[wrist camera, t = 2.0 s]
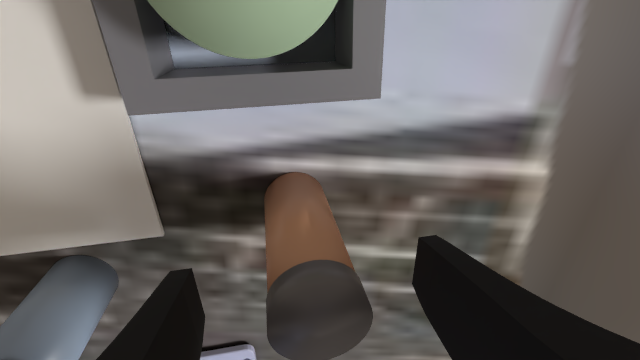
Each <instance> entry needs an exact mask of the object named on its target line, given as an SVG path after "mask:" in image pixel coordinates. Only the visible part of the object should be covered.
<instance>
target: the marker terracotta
mask: <svg viewBox="0 0 640 360" xmlns="http://www.w3.org/2000/svg"><path fill="white" fill-rule="evenodd" d="M264 207H265V235H266V263H267V290H268V294H267V298H266V313H267V337H268V341H269V343H270V345H271V346H272V348H273V349H274V350H275V351H276V352H277V353H279V354H280V355H282V356H284V357H286V358H288V359H291V360H327V359H331V358H334V357H337V356H339V355H341V354H343V353H345V352H347V351H349V350H350V349H352V348H353V347H355V346H356V345H357V344H358V343H359V342H360V341H361V340H362V339H363V338H364V337H365V336H366V334H367V333H368V331H369V329H370V327H371V324H372V319H373V312H372V308H371V305H370V303H369V300H368V298H367V295H366V293H365V290H364V288H363V286H362V283H361V281H360V278H359V276H358V275H357V273H356V272H355V270H354V267H353V265H352V262H351V260H350V257H349V255H348V252H347V250H346V247H345V245H344V242H343V240H342V237H341V235H340V232H339V229H338V227H337V224H336V222H335V219H334V217H333V214H332V212H331V209H330V207H329V204H328V202H327V199H326V197H325V194H324V192H323V189H322V187H321V185H320V183H319V182H318V181H317V180H316V179H315V178H313V177H312V176H310V175H308V174H305V173H299V172H292V173H287V174H284V175H281V176H280V177H278V178H276V179H275V180H274V181H273V182H272V183H271V184H270V185H269V186H268V188H267V190H266V192H265V197H264Z"/></svg>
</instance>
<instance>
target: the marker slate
mask: <svg viewBox="0 0 640 360" xmlns="http://www.w3.org/2000/svg"><path fill="white" fill-rule="evenodd" d="M118 283H119V280H118V275H117V273H116V272H115V270H114V269H113V268H112V267H111V266H110V265H109V264H107V263H106V262H104V261H102V260H100V259H98V258H95V257H91V256H84V255H75V256H69V257H65V258H63V259H61V260H59V261H57V262H56V263H55V264H54V265H53V266H52V267H51V268H50V270H49V271H48V272H47V273H46V274H45V275H44V277H43V278H42V279H41V280H40V281H39V282H38V284H37V285H36V286H35V287H34V288H33V289H32V290H31V292H30V293H29V294H28V295H27V296H26V297H25V299H24V300H23V301H22V302H21V303H20V304H19V306H18V307H17V308H16V309H15V310H14V311H13V313H12V314H11V315H10V316H9V317H8V318H7V320H6V321H5V322H4V323H3V324H2V325H1V326H0V360H78V359H79V357H80V356H81V354H82V352H83V350H84V348H85V346H86V345H87V343H88V341H89V339H90V337H91V335H92V333H93V332H94V330H95V328H96V326H97V324H98V322H99V321H100V319H101V317H102V315H103V313H104V311H105V309H106V308H107V306H108V304H109V302H110V300H111V298H112V296H113V295H114V293H115V291H116V289H117V287H118Z"/></svg>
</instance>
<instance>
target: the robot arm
mask: <svg viewBox="0 0 640 360" xmlns="http://www.w3.org/2000/svg"><path fill="white" fill-rule="evenodd" d="M412 285H413V287H414V289H415V292H416V294H417V297H418V299H419V301H420V303H421V306H422V308H423V310H424V312H425V314H426V316H427V318H428V319H429V321H430V323H431V325H432V326H433V328H434V330H435V331H436V333H437V335H438V337H439V338H440V340H441V342H442V343H443V345H444V347H445V348H446V350H447V352H448V353H449V355H450V357H451V359H452V360H640V344H639V343H637V342H634V341H632V340H630V339H627V338H625V337H623V336H620V335H618V334H615V333H613V332H611V331H608V330H606V329H604V328H602V327H599V326H597V325H595V324H593V323H591V322H588V321H586V320H584V319H582V318H580V317H578V316H576V315H574V314H572V313H570V312H568V311H566V310H564V309H561V308H559V307H557V306H555V305H553V304H552V303H549V302H548V301H546V300H544V299H542V298H540V297H538V296H536V295H535V294H533V293H531V292H529V291H527V290H526V289H524V288H522V287H520V286H518V285H517V284H515V283H513V282H512V281H510V280H508V279H506V278H505V277H503V276H501V275H500V274H498V273H496V272H495V271H493V270H491V269H490V268H488V267H487V266H485V265H483V264H482V263H480V262H479V261H477V260H475V259H474V258H472V257H471V256H469V255H467V254H466V253H464V252H463V251H461V250H460V249H458V248H456V247H455V246H453V245H452V244H450V243H448V242H447V241H445V240H443V239H442V238H440V237H438V236H437V235H433V236H426V237H419V239H418V246H417V253H416V260H415V267H414V274H413V281H412ZM204 323H205V314H204V311H203V307H202V303H201V300H200V296H199V293H198V289H197V285H196V282H195V278H194V275H193V271H192V268H190V269H183V270H176V271H170V272H169V273H168V274H167V276H166V277H165V278H164V279H163V281H162V282H161V283H160V284H159V286H158V287H157V288H156V289H155V291H154V292H153V293H152V294H151V296H150V297H149V298H148V299H147V301H146V302H145V303H144V304H143V306H142V307H141V308H140V309H139V311H138V312H137V313H136V314H135V315H134V317H133V318H132V319H131V320H130V321H129V323H128V324H127V325H126V326H125V327H124V329H123V330H122V331H121V332H120V333H119V335H118V336H117V337H116V338H115V339H114V340H113V342H112V343H111V344H110V345H109V346H108V347H107V348H106V349H105V350H104V352H103V353H102V354H101V355H100V356H99V357H98V358H97V359H96V360H256V355H255V349H254V347H253V346H252V345H249V344H244V345H238V346H233V347H227V348H221V349H216V350H210V351H204V352H201V351H202V343H203V334H204Z"/></svg>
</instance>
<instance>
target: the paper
mask: <svg viewBox="0 0 640 360" xmlns="http://www.w3.org/2000/svg"><path fill="white" fill-rule="evenodd" d="M164 234H165V233H164V230H163V226H162V223H161V220H160V217H159V213H158V210H157V207H156V204H155V200H154V197H153V194H152V191H151V187H150V184H149V181H148V177H147V174H146V171H145V168H144V164H143V161H142V158H141V155H140V151H139V148H138V145H137V142H136V138H135V135H134V132H133V128H132V125H131V122H130V119H129V115H128V114H127V111H126V108H125V104H124V101H123V98H122V95H121V91H120V88H119V85H118V82H117V78H116V75H115V72H114V69H113V65H112V62H111V59H110V56H109V52H108V49H107V46H106V43H105V39H104V36H103V33H102V30H101V26H100V23H99V20H98V17H97V13H96V10H95V7H94V4H93V0H0V256H4V255H13V254H21V253H29V252H37V251H45V250H54V249H62V248H70V247H78V246H86V245H95V244H103V243H111V242H119V241H127V240H136V239H144V238H152V237H160V236H164Z"/></svg>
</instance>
